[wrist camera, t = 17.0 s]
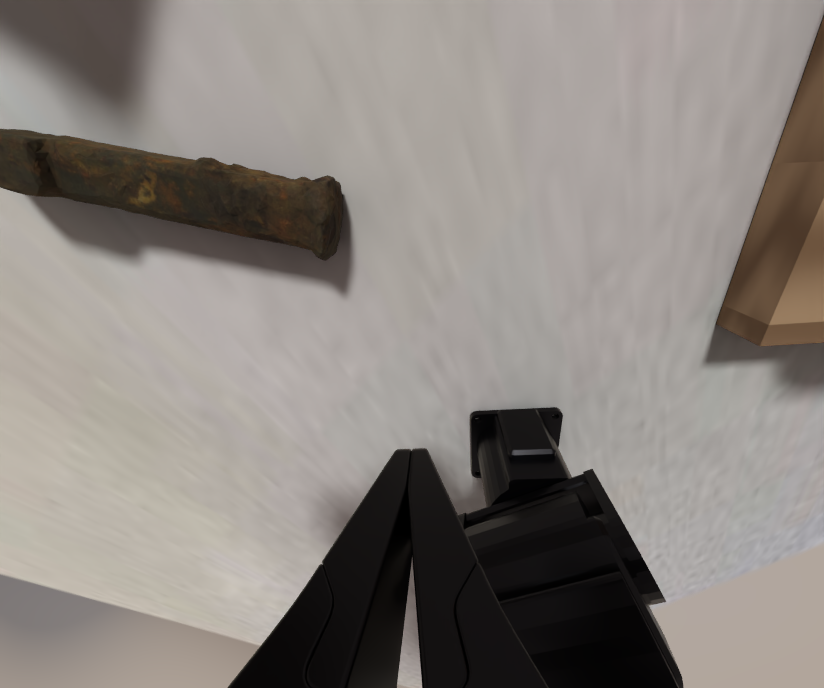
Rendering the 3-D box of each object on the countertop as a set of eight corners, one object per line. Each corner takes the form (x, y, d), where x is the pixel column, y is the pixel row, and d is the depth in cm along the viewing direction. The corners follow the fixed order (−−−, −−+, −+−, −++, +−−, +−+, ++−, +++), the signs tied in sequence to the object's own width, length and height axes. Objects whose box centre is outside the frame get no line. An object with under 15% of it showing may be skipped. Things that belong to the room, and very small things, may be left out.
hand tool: (353, 180, 18) (329, 179, 14) (343, 253, 20) (319, 272, 15) (-10, 86, 17) (-156, 54, 13) (15, 172, 18) (-106, 169, 14)
